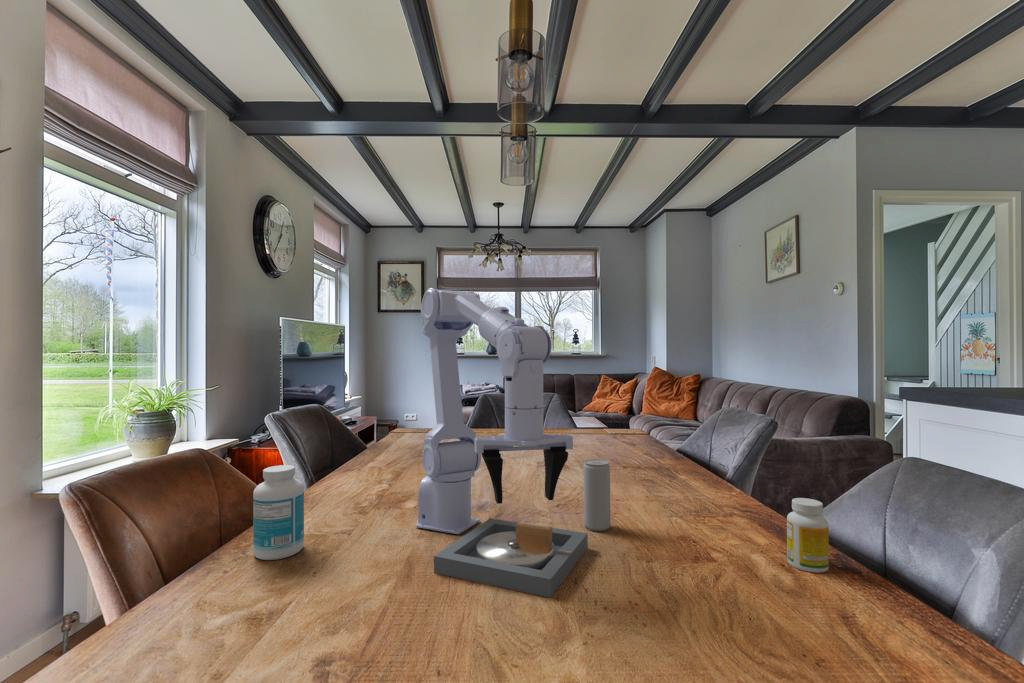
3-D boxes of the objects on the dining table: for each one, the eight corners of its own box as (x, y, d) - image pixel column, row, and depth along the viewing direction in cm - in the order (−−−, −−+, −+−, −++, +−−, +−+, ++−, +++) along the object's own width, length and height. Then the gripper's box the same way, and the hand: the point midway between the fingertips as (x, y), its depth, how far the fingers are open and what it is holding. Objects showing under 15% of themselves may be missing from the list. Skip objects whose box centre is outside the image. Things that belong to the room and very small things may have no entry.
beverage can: (610, 533, 86) (609, 465, 86) (583, 531, 87) (582, 464, 87) (610, 523, 91) (609, 459, 91) (584, 522, 92) (584, 458, 92)
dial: (462, 562, 72) (462, 528, 72) (497, 535, 83) (497, 506, 83) (537, 577, 67) (537, 541, 67) (564, 546, 78) (564, 515, 78)
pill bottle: (282, 540, 83) (283, 461, 83) (313, 548, 80) (314, 465, 80) (241, 556, 76) (243, 470, 77) (273, 565, 73) (275, 475, 73)
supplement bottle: (779, 562, 74) (778, 498, 74) (801, 555, 76) (800, 494, 77) (814, 576, 69) (813, 508, 69) (837, 569, 71) (836, 503, 72)
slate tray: (433, 572, 70) (434, 553, 71) (489, 531, 87) (489, 516, 87) (550, 597, 63) (550, 576, 63) (587, 548, 79) (587, 531, 80)
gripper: (479, 411, 66) (479, 511, 66) (579, 408, 69) (580, 504, 69) (472, 406, 73) (472, 497, 73) (564, 404, 76) (564, 491, 76)
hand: (524, 499), depth 71 cm, fingers open, 7 cm apart
